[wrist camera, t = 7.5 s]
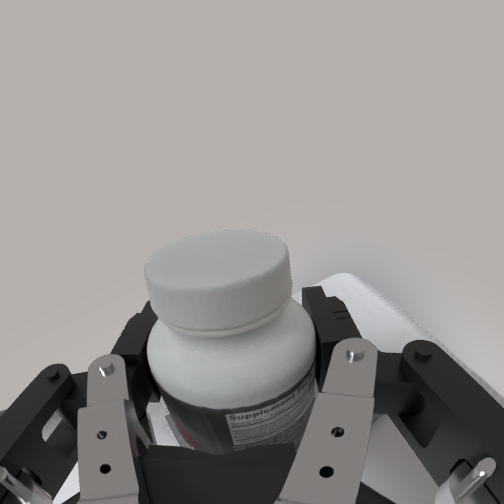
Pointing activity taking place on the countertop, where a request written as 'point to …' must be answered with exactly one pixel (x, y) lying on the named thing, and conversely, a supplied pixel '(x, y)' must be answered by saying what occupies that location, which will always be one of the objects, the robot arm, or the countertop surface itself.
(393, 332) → the countertop surface
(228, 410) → the pill bottle
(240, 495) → the robot arm
